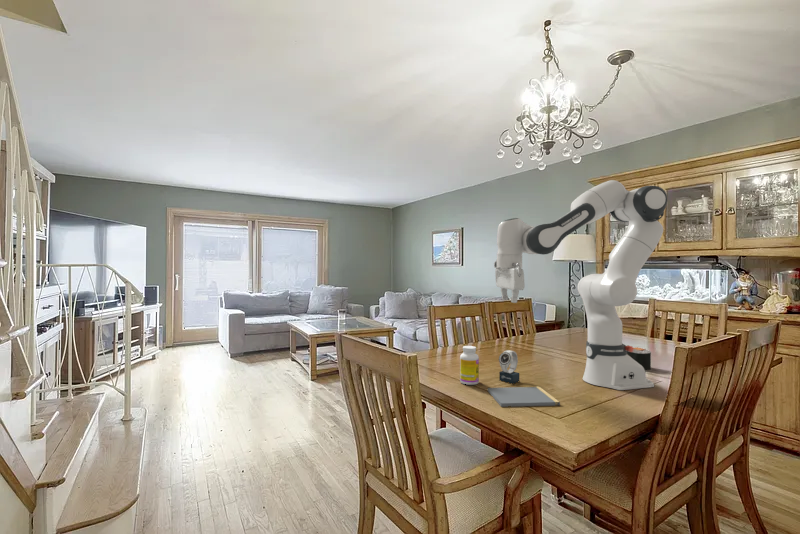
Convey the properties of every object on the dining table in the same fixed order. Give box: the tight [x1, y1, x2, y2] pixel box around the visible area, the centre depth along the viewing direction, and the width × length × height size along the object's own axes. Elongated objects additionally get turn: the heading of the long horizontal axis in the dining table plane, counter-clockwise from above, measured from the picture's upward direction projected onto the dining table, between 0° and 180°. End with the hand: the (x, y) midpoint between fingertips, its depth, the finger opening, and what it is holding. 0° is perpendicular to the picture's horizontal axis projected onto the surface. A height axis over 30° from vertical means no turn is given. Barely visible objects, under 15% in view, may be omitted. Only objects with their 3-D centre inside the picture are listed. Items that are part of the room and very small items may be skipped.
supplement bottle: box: [459, 345, 480, 386], centre depth 134 cm, size 7×7×13 cm
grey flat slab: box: [487, 386, 561, 408], centre depth 119 cm, size 18×14×1 cm
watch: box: [498, 349, 520, 385], centre depth 136 cm, size 6×8×11 cm
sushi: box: [626, 346, 652, 371], centre depth 153 cm, size 8×8×8 cm
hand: (509, 301), depth 136 cm, fingers open, 8 cm apart
